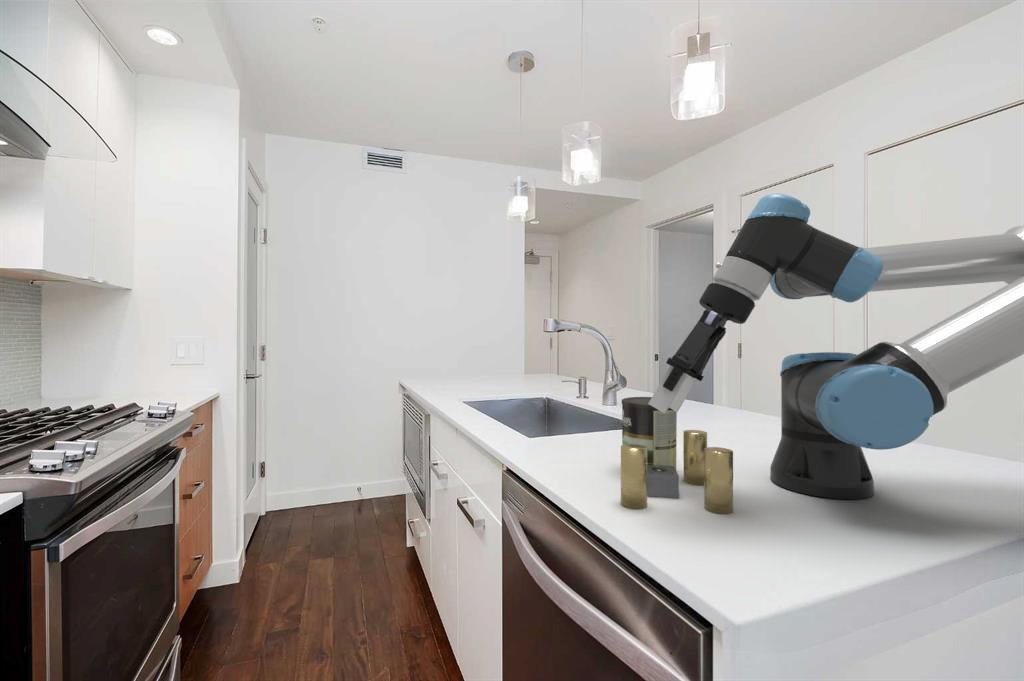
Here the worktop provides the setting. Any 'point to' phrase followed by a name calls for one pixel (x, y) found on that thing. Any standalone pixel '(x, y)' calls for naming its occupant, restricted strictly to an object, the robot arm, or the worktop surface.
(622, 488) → the brass spacer
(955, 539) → the worktop surface
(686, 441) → the brass spacer
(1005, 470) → the worktop surface
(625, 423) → the coffee can
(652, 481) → the grey square block
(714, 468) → the brass spacer
